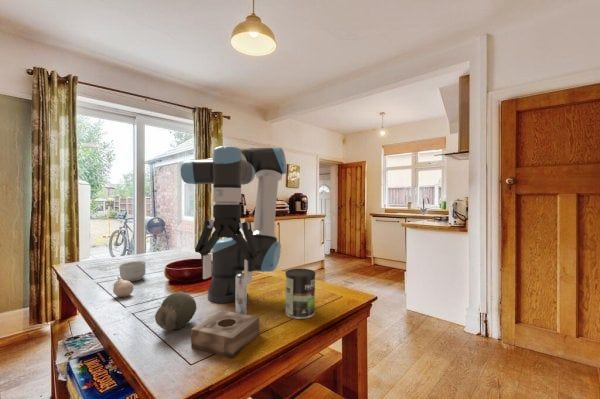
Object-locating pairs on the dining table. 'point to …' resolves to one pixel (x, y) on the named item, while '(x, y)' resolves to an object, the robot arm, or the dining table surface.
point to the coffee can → (300, 293)
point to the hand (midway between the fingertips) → (227, 280)
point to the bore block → (225, 333)
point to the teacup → (132, 270)
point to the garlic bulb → (122, 288)
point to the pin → (240, 295)
